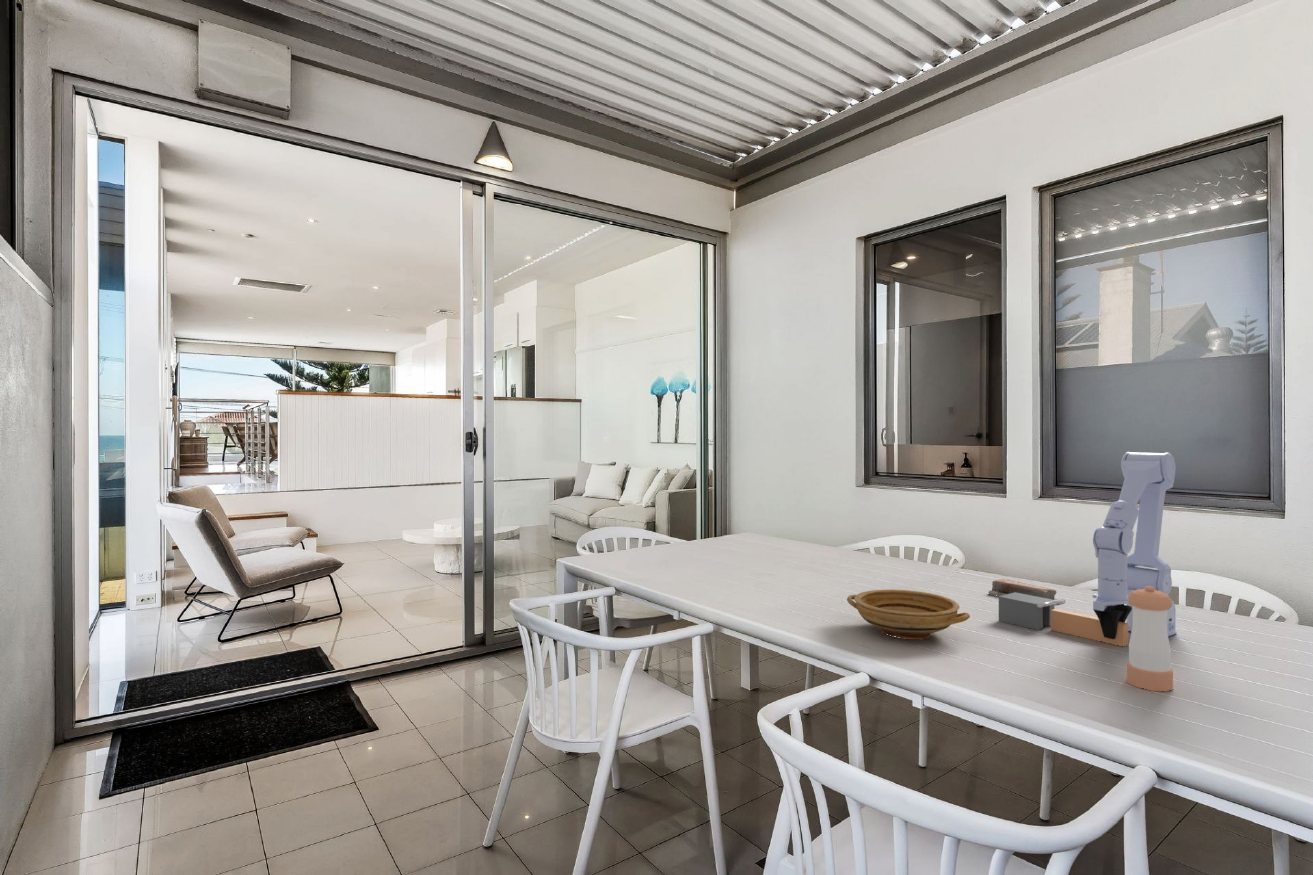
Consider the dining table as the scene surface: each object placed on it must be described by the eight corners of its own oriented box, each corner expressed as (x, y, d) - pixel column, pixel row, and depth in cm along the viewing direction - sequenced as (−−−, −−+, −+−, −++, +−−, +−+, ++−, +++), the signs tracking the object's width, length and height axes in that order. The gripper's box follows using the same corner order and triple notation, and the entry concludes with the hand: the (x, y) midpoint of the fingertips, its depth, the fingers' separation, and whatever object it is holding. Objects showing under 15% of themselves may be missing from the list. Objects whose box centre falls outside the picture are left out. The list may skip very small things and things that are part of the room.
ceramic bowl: (983, 633, 166) (984, 600, 166) (953, 658, 148) (953, 621, 148) (867, 612, 185) (867, 583, 185) (827, 632, 167) (827, 600, 167)
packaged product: (986, 580, 206) (1006, 576, 211) (986, 595, 206) (1006, 592, 211) (1046, 591, 190) (1066, 587, 195) (1046, 609, 190) (1066, 604, 195)
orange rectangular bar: (1128, 645, 157) (1128, 623, 156) (1123, 647, 155) (1123, 625, 155) (1055, 628, 170) (1055, 608, 170) (1050, 630, 169) (1050, 610, 168)
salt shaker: (1153, 693, 128) (1154, 592, 127) (1117, 680, 135) (1117, 583, 134) (1182, 689, 130) (1182, 589, 129) (1145, 676, 137) (1145, 581, 136)
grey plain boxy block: (1057, 625, 172) (1057, 600, 172) (1040, 631, 168) (1040, 605, 168) (1015, 616, 181) (1015, 592, 181) (998, 621, 177) (998, 596, 177)
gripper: (1108, 572, 165) (1107, 627, 166) (1078, 579, 157) (1078, 637, 157) (1141, 577, 160) (1141, 634, 160) (1112, 585, 151) (1112, 645, 152)
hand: (1112, 636), depth 158 cm, fingers closed on orange rectangular bar, 2 cm apart
